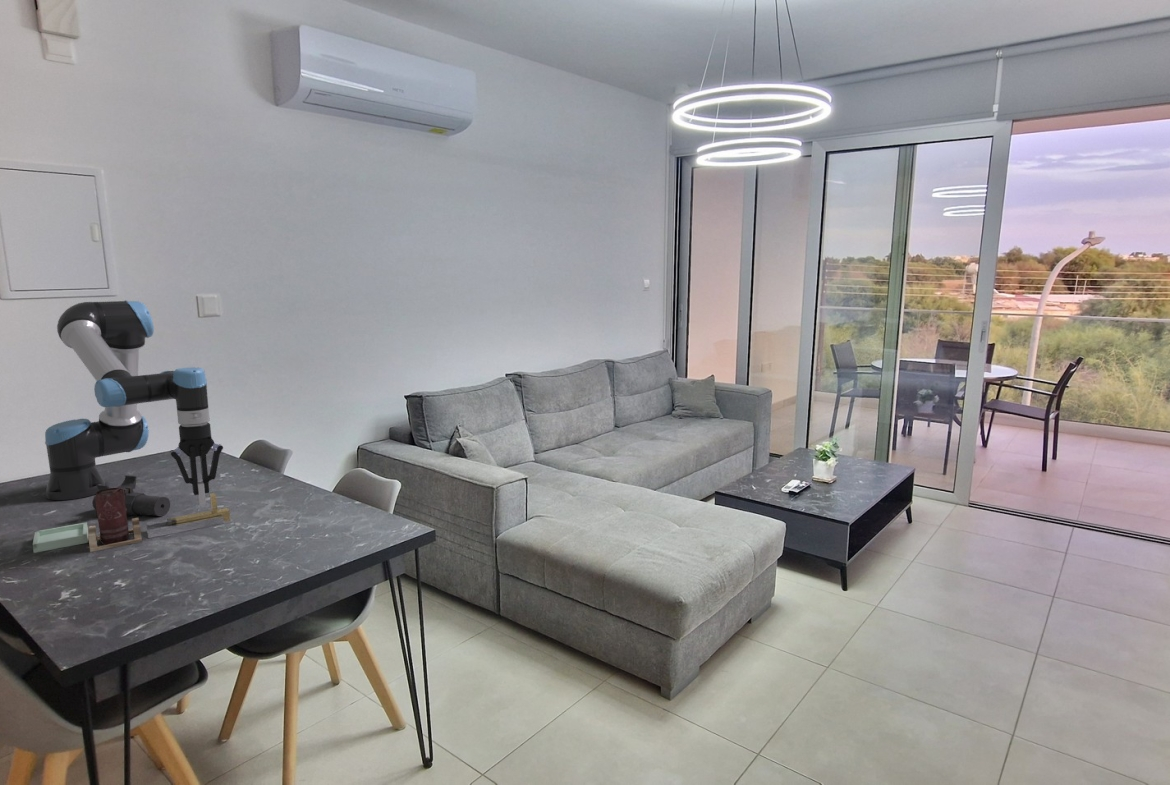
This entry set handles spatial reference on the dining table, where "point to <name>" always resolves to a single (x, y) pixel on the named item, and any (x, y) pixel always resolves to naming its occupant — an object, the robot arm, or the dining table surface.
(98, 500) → the can
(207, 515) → the keeper bolt
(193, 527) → the keeper guide
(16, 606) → the dining table surface
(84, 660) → the dining table surface
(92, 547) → the socket
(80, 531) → the pale green shallow tray
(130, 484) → the laser sight
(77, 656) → the dining table surface
